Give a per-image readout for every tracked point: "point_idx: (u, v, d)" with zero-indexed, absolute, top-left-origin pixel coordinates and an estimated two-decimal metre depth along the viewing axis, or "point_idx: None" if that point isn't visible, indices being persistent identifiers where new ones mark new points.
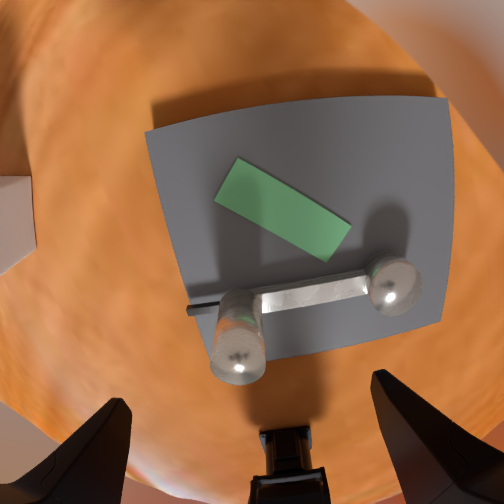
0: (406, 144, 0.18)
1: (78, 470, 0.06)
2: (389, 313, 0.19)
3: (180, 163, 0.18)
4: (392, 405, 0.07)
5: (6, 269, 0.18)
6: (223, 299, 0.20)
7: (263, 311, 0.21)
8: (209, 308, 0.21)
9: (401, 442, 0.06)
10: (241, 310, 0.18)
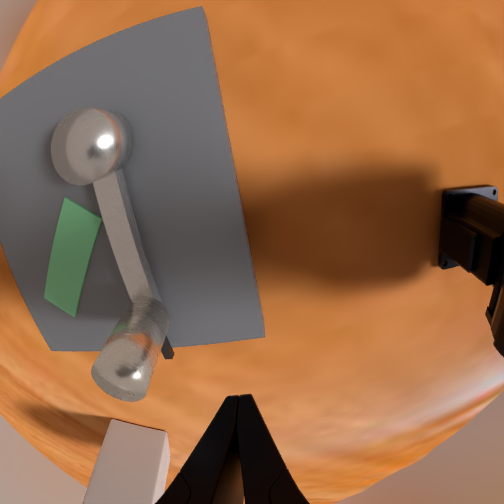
0: (4, 154, 0.15)
1: (217, 488, 0.05)
2: (108, 149, 0.12)
3: (60, 333, 0.21)
4: (237, 433, 0.07)
5: (158, 464, 0.24)
6: None
7: (149, 294, 0.17)
8: None
9: None
10: None
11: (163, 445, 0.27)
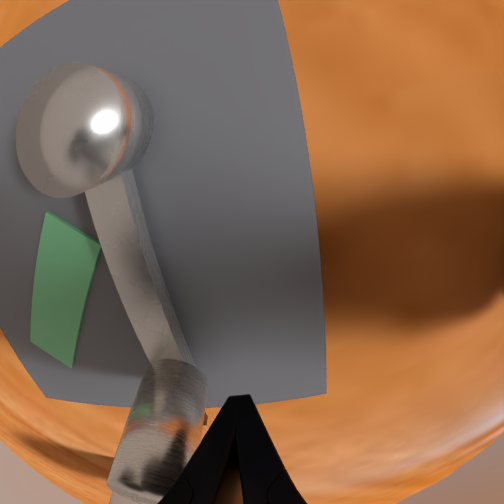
0: None
1: (219, 488, 0.05)
2: (110, 132, 0.06)
3: (55, 381, 0.15)
4: (235, 434, 0.07)
5: None
6: None
7: (178, 357, 0.12)
8: None
9: None
10: None
11: None
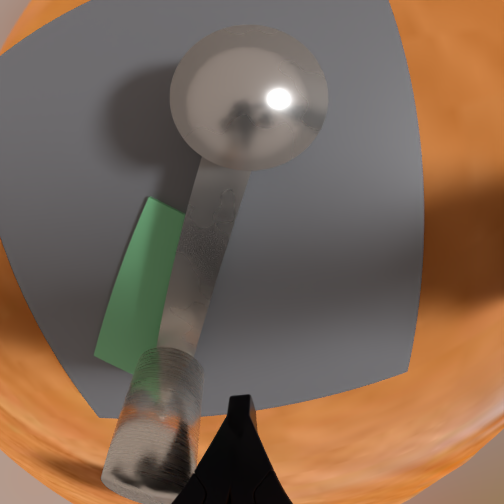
0: (23, 124, 0.09)
1: (231, 488, 0.05)
2: (303, 137, 0.07)
3: (117, 399, 0.15)
4: (226, 434, 0.07)
5: None
6: None
7: (191, 352, 0.11)
8: None
9: None
10: (124, 401, 0.09)
11: None
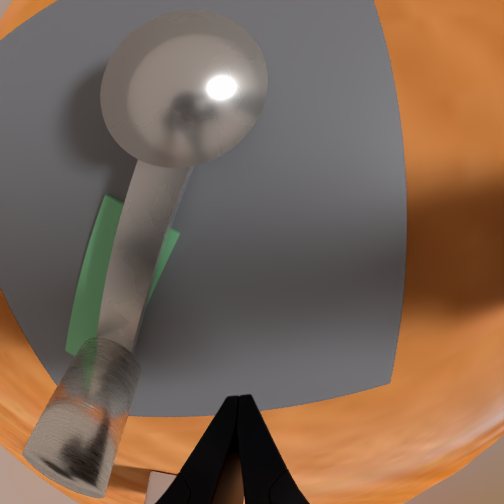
0: None
1: (217, 488, 0.05)
2: (233, 133, 0.06)
3: None
4: (237, 434, 0.07)
5: None
6: None
7: (128, 347, 0.11)
8: None
9: None
10: None
11: None
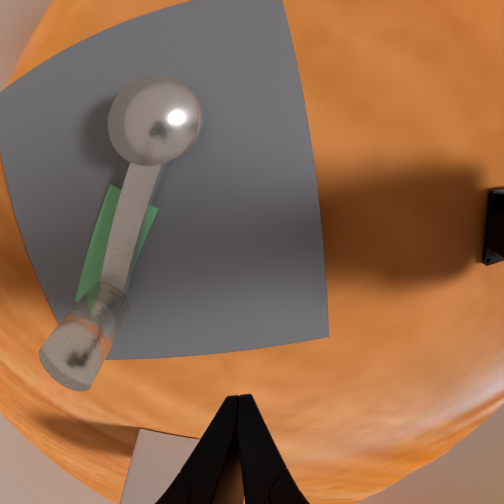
0: (31, 134, 0.13)
1: (217, 488, 0.05)
2: (178, 146, 0.11)
3: None
4: (237, 433, 0.07)
5: None
6: None
7: (121, 288, 0.16)
8: None
9: None
10: None
11: None
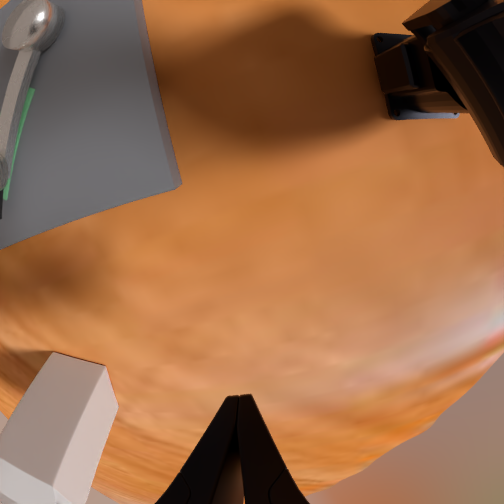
0: None
1: (217, 488, 0.05)
2: (31, 29, 0.09)
3: None
4: (237, 434, 0.07)
5: (87, 399, 0.21)
6: None
7: (4, 153, 0.14)
8: None
9: None
10: None
11: (98, 380, 0.24)
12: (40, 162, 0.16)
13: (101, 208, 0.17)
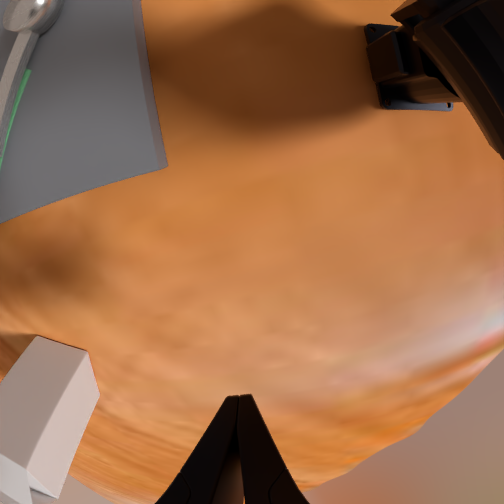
0: None
1: (217, 488, 0.05)
2: (31, 11, 0.09)
3: None
4: (237, 433, 0.07)
5: (67, 383, 0.20)
6: None
7: None
8: None
9: None
10: None
11: (79, 365, 0.23)
12: (31, 141, 0.15)
13: (87, 187, 0.17)
